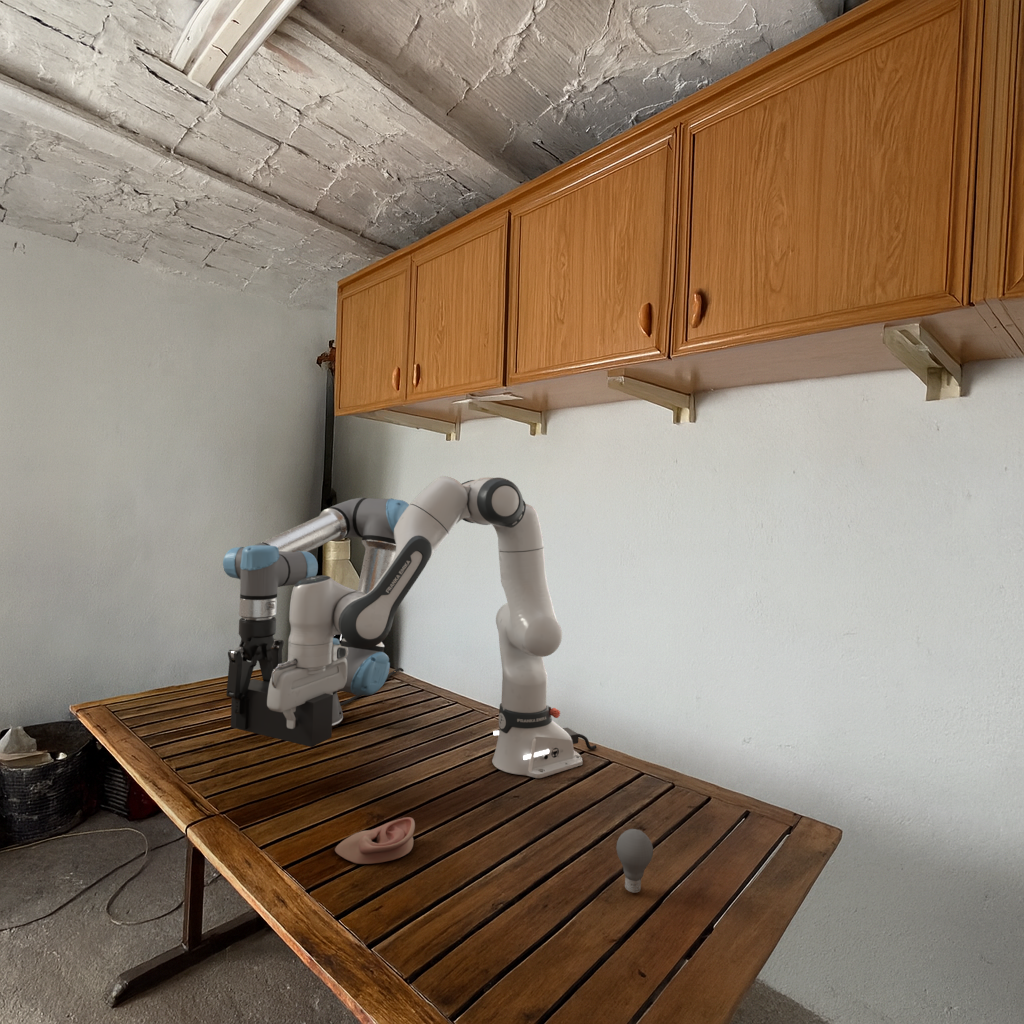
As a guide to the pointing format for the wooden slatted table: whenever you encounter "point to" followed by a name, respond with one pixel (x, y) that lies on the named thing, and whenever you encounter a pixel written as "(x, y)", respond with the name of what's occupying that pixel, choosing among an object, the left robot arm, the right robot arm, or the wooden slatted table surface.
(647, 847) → the light bulb
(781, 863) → the wooden slatted table surface
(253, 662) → the left robot arm
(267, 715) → the box
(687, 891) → the wooden slatted table surface
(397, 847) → the anatomical model
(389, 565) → the right robot arm
